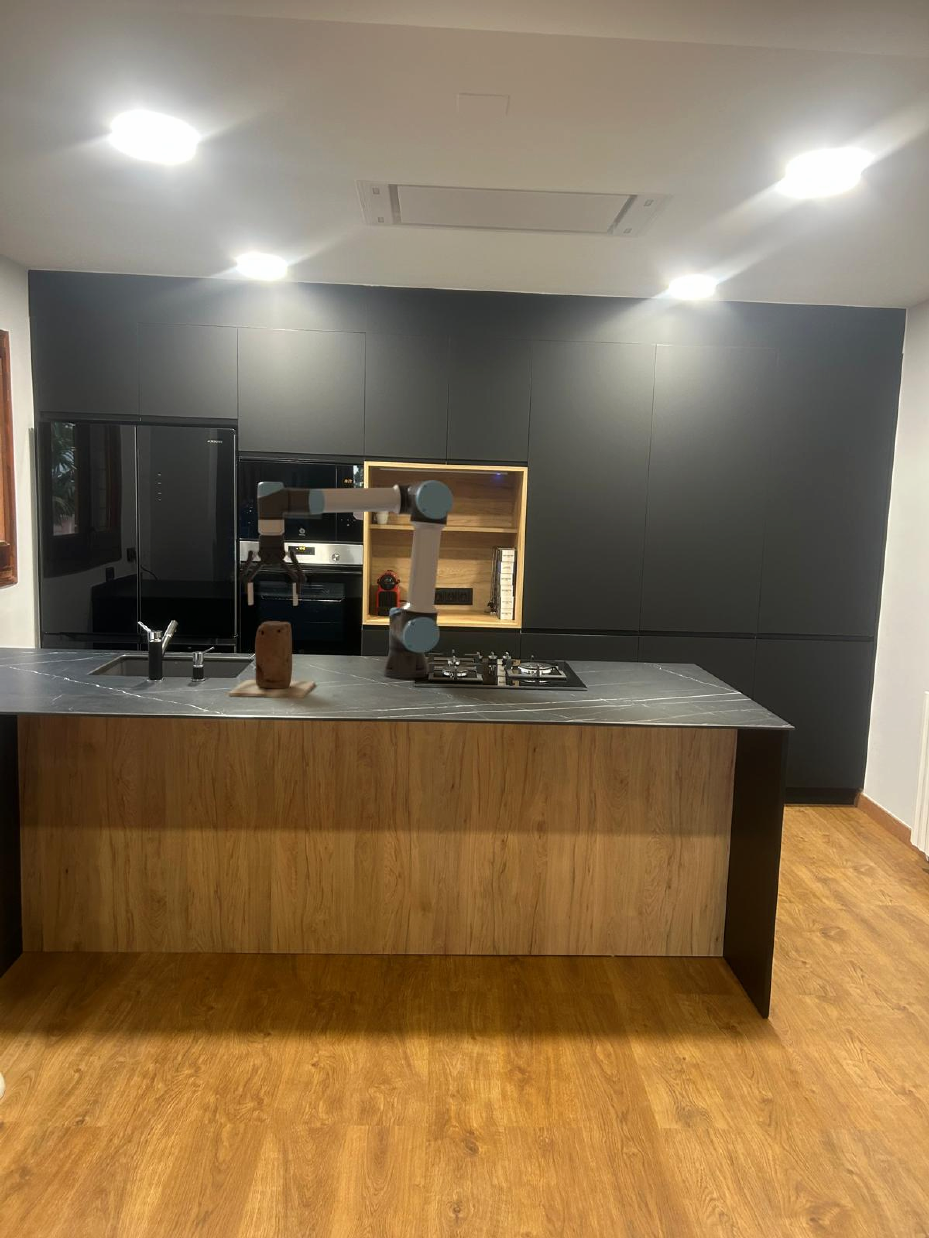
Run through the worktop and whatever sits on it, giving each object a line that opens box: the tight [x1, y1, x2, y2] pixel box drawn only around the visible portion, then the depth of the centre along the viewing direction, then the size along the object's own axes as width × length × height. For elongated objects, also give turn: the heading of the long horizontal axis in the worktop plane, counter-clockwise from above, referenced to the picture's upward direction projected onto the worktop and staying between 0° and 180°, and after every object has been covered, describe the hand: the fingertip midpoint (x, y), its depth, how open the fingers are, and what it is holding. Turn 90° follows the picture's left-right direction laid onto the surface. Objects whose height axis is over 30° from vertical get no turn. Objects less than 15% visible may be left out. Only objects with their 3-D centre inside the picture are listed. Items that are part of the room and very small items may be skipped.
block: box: [254, 620, 293, 688], centre depth 256 cm, size 11×8×20 cm
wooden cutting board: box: [228, 679, 316, 699], centre depth 257 cm, size 22×18×1 cm
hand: (273, 604), depth 254 cm, fingers open, 13 cm apart
